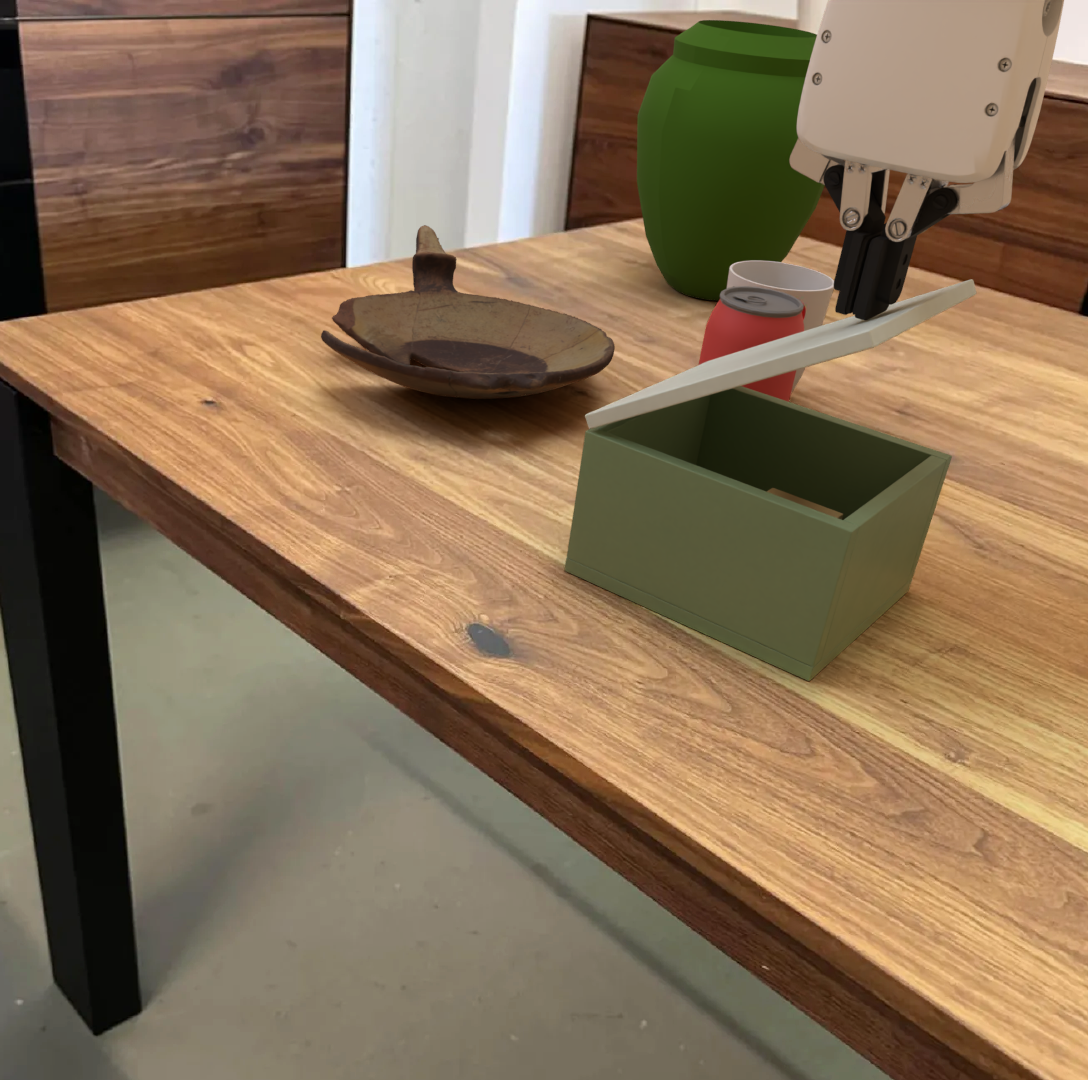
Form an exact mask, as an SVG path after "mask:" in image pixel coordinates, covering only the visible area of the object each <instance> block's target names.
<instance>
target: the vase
mask: <svg viewBox="0 0 1088 1080" xmlns="http://www.w3.org/2000/svg"><path fill="white" fill-rule="evenodd" d="M817 34H818V33H817ZM817 34H816V33H814V32H810V31H806V30H802V29H799V28H794V27H793V28H791V27H786V26H780V25H774V24H773V25H772V24H765V23H756V22H748V21H739V20H738V21H737V20H724V19H703V20H699V21H697V22H696V23H695V24H693V25H692V26H691V27H689V28H687V29H686V30H684V31H683V32H681V33H679V34H678V35H677V36H675V37H674V40H673V52H672V55H670V57H669V58H667V60H666V61H664V62H663V64H661V65H660V67H659V68H658V69H656V70H655V71H654V72H653V73H652V74H651V76H650V79H649V82H648V84H647V87H646V91H645V93H644V96H643V99H642V102H641V104H640V106H639V110H638V113H637V120H636V121H637V123H636V126H637V128H636V129H637V133H636V134H637V136H636V137H637V139H636V140H637V141H636V185H637V190H638V198H639V203H640V209H641V215H642V221H643V227H644V234H645V238H646V240H647V243H648V246H649V248H650V251H651V254H652V257H653V259H654V262H655V265H656V267H657V268H658V270H659V272H660V274H661V275H662V278H663V279H664V280H665V282H666V284H667V285H669V287H671V288H672V289H674V290H675V291H677V292H678V293H680V294H683V295H685V296H688V297H691V298H695V299H700V300H706V301H715V302H718V301H719V300H720V293H721V291H723V290H725V289H727V282H728V275H729V268H730V266H731V265H732V264H734V263H737V262H741V261H773V262H782V263H783V261H784V260H785V259H786V257H787V256H788V255H789V254H790V251H791V250H792V248H793V247H794V245H795V243H796V241H797V240H798V238H799V237H800V235H801V234H802V232H803V230H804V228H805V227H806V225H807V224H808V222H809V220H810V219H811V217H812V216H813V214H814V212H815V210H816V209H817V206H818V203H819V201H820V198H821V196H822V193H823V191H824V188H825V185H824V184H822V183H818V182H816V181H814V180H812V179H811V178H809V177H807V176H805V175H803V174H801V173H799V172H798V171H796V170H794V169H793V168H792V167H791V165H790V162H789V159H790V155H791V153H792V151H793V149H794V146H795V144H796V142H797V140H798V135H797V117H798V110H799V105H800V100H801V95H802V90H803V86H804V82H805V78H806V74H807V70H808V66H809V62H810V58H811V55H812V51H813V48H814V44H815V41H816V37H817Z"/></svg>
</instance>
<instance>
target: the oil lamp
mask: <svg viewBox="0 0 1088 1080" xmlns="http://www.w3.org/2000/svg"><path fill="white" fill-rule="evenodd" d="M416 232H417V233H416V237H415V253H414V255H413V256H412V260H411V261H412V262H411V263H412V264H411V266H412V267H411V270H412V271H411V272H412V280H413V283H412V285H413V290H412V289H411V290H408V291H401V292H395V293H393V292H392V293H382V294H380V293H378V294H370V295H365V296H357V297H351V298H349V299H346V300H344V301H342V302H341V303H340V304H339V307H338V311H337V312H336V314H333V316H332V317H331V320H332V321H333V322H334V324H336V325H337V327H338V328H339V329H340V330H342V332H344V333H345V334H346V335H347V336H348V337H349V338H351V339H353V340H354V341H355V342H356V343H357V344H358V345H360V347H358V346H355V345H352V344H350V343H347V342H345V341H343V340H341V339H340V338H338V337H336V336H335V335H334V334H333V333H331V332H330V331H328V330H325V329H324V330H323V329H322V332H321V333H320V339H321V341H322V342H323V343H324V344H325V345H326V346H328V347H329V348H330V349H332V350H333V351H334V352H336V353H337V354H338V355H340V356H342V357H343V358H345V359H346V360H348V361H350V362H352V363H354V364H355V365H356V366H359V367H360V368H362V369H364V370H366V371H368V372H370V373H372V374H374V375H377V376H379V377H381V378H383V379H385V380H387V381H389V382H391V383H394V384H396V385H399V386H402V387H404V388H408V389H411V390H414V391H418V392H420V393H421V392H422V393H424V394H430V395H435V396H439V397H450V398H460V399H471V400H489V399H490V400H492V399H507V398H516V397H518V398H519V397H524V396H525V397H526V396H531V395H535V394H542V393H545V392H549V391H553V390H556V389H559V388H560V389H561V388H562V387H565V386H568V385H571V384H574V383H578V382H580V381H583V380H585V379H589V378H591V377H593V376H595V375H597V374H599V373H600V372H601V371H603V370H604V369H605V368H607V367H608V366H609V365H610V364H611V362H612V360H613V357H614V355H615V348H616V346H615V343H614V340H613V339H612V338H611V337H609V336H608V335H607V333H606V332H605V331H604V330H603V329H601V328H600V327H598V326H596V325H594V324H591V323H590V322H589V321H586V320H583V319H581V318H578V317H576V316H573V315H572V314H567V313H565V312H564V313H563V312H562V313H561V312H559V311H556V310H552V309H549V308H545V307H538V306H537V305H536V306H535V305H531V304H527V303H523V302H520V301H515V300H510V299H509V300H508V299H506V298H500V297H496V296H485V295H479V294H471V293H465V292H460V291H458V290H457V289H456V287H455V286H454V274H455V271H456V269H457V257H456V256H455V255H453V254H450V253H446V251H445V249H444V248H443V246H442V244H441V243H440V240H439V239H440V238H439V237H438V236H437V234H436V231H435V230H434V229H433V228H432V227H430V226H429V225H426V224H423V225H422V226H420V227H419V228H418V229H417V231H416ZM361 347H362V348H363V349H362V348H361ZM364 349H365V350H364ZM411 360H412V361H415V362H417V363H419V364H421V365H422V366H423V367H422V366H418V365H411Z"/></svg>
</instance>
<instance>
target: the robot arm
mask: <svg viewBox="0 0 1088 1080" xmlns="http://www.w3.org/2000/svg"><path fill="white" fill-rule="evenodd" d="M1064 4H1065V0H827V2H826V5H825V9H824V12H823V14H822V18H821V21H820V24H819V27H818V30H817V37H816V41H815V44H814V48H813V51H812V55H811V58H810V62H809V66H808V70H807V74H806V78H805V82H804V86H803V90H802V95H801V100H800V105H799V110H798V117H797V135H798V140H797V142H796V144H795V146H794V149H793V151H792V153H791V155H790V159H789V162H790V165H791V167H792V168H793V169H794V170H796V171H798V172H799V173H801V174H803V175H805V176H807V177H809V178H811V179H812V180H814V181H816V182H818V183H822V184H824V185H825V186H824V188H826V191H827V192H828V194H829V196H830V197H831V198H830V199H832V201H833V203H834V205H835V206H836V208H837V210H838V213H839V223H840V225H841V227H842V228H843V229H844V230H845V234H844V238H843V243H842V246H841V252H840V256H839V260H838V263H837V267H836V272H835V276H834V279H833V280H834V290H835V291H838V295H837V299H836V302H835V307H834V311H835V313H836V314H841V315H844V316H847V315H849V314H852V315H853V316H855V318H858V319H861V320H865V321H866V320H868V319H870V318H872V317H874V316H876V315H879V314H881V313H883V312H885V311H886V310H887V308H888V307H889V305H892V304H894V303H896V302H898V300H899V299H900V297H901V294H902V293H903V290H904V289H903V288H904V285H905V282H906V278H907V274H908V271H909V267H910V263H911V259H912V256H913V253H914V249H915V245H916V241H917V238H918V236H919V235H921V234H924V233H925V232H926V231H928V229H930V228H932V227H933V226H935V225H936V224H938V223H939V222H941V221H942V220H944V219H946V218H947V217H949V216H950V215H968V214H969V215H974V214H975V215H976V214H993V213H996V212H999V211H1001V210H1004V209H1006V208H1007V207H1008V206H1009V205H1010V204H1011V201H1012V195H1013V194H1012V193H1013V180H1014V179H1013V178H1014V170H1016V169H1017V168H1019V167H1020V166H1021V165H1022V163H1023V162H1024V160H1025V159H1026V157H1027V154H1028V151H1029V149H1030V147H1031V144H1032V141H1033V138H1034V134H1035V130H1036V127H1037V124H1038V119H1039V116H1040V112H1041V109H1042V106H1043V105H1042V104H1043V99H1044V96H1045V92H1046V88H1047V84H1048V81H1049V76H1050V71H1051V66H1052V63H1053V59H1054V53H1055V49H1056V44H1057V40H1058V35H1059V30H1060V25H1061V19H1062V14H1063V9H1064ZM891 171H893V172H900V173H904V174H906V175H905V178H904V180H903V182H902V185H901V187H900V190H899V193H898V195H897V196H896V200H895V202H894V204H893V207H892V209H891V212H890V214H889V216H888V219H887V221H886V217H887V216H886V215H885V213H886V207H887V198H888V190H889V181H890V172H891ZM949 183H953V184H949ZM954 183H955V184H954ZM957 183H958V184H957Z"/></svg>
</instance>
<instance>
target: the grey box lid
mask: <svg viewBox="0 0 1088 1080" xmlns="http://www.w3.org/2000/svg"><path fill="white" fill-rule="evenodd" d="M976 295H977V289H976V285H975V281H974V279H971V278H970V279H968V280H964V281H961V282H957V283H954V284H952V285H948V286H945V287H942V288H938V289H936V290H931V291H928V292H926V293H923V294H919V295H916V296H913V297H909V298H907V299H906V298H905V299H904V300H903V299H902V300H900V301H896V302H895V303H894V304H892V305H889V307H888V308H887V310H886V311H885V312H883V313H881V314H879V315H876V316H874V317H872V318H870V319H868V320H866V321H865V320H861V319H858V318H855V315H851V316H848V317H845V318H841V319H838V320H835V321H832V322H829V323H826V324H823V325H822V326H819V327H816V328H813V329H809V330H806V331H803V332H800V333H797V334H793V335H790V336H787V337H784V338H780V339H777V340H774V341H771V342H768V343H764V344H761V345H758V346H755V347H751V348H748V349H745V350H742V351H739V352H735V353H732V354H729V355H726V356H723V357H719V358H716V359H713V360H710V361H707V362H705V363H702V364H700V365H698V364H697V365H695V366H694V367H690V368H688V369H686V370H684V371H682V372H679V373H677V374H675V375H672V376H671V377H668V378H666V379H664V380H661V381H659V382H656V383H654V384H651V385H650V386H647V387H644V388H643V389H641V390H637V391H636V392H634V393H632V394H630V395H627V396H624V397H622V398H620V399H618V400H615V401H613V402H611V403H609V404H606V405H604V406H602V407H599V408H598V409H595V410H592V411H590V412H588V413H586V414H585V415H584V418H585V421H586V425H587V427H588V430H589V429H593V428H596V427H600V426H603V425H607V424H610V423H614V422H617V421H621V420H624V419H628V418H631V417H635V416H638V415H642V414H645V413H648V412H652V411H655V410H659V409H662V408H666V407H669V406H673V405H676V404H680V403H683V402H687V401H690V400H694V399H697V398H701V397H704V396H708V395H711V394H715V393H718V392H722V391H725V390H729V389H732V388H736V387H739V386H743V385H746V384H750V383H753V382H756V381H760V380H763V379H767V378H770V377H774V376H777V375H781V374H784V373H788V372H791V371H795V370H798V369H802V368H805V367H806V368H808V367H813V366H816V365H819V364H823V363H826V362H829V361H833V360H837V359H840V358H843V357H844V358H845V357H846V356H851V355H852V354H853V355H854V354H857V353H861V352H865V351H867V350H871V349H875V348H876V347H878V346H880V345H881V344H884V343H886V342H888V341H890V340H892V339H893V338H895V337H897V336H900V335H901V334H903V333H905V332H907V331H909V330H910V329H912V328H915V327H916V326H919V325H920V324H922V323H924V322H926V321H928V320H930V319H932V318H933V317H936V316H938V315H940V314H941V313H943V312H945V311H947V310H949V309H951V308H953V307H955V306H957V305H959V304H961V303H963V302H965V301H967V300H968V299H971V298H972V297H974V296H976ZM806 368H805V369H806Z"/></svg>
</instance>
